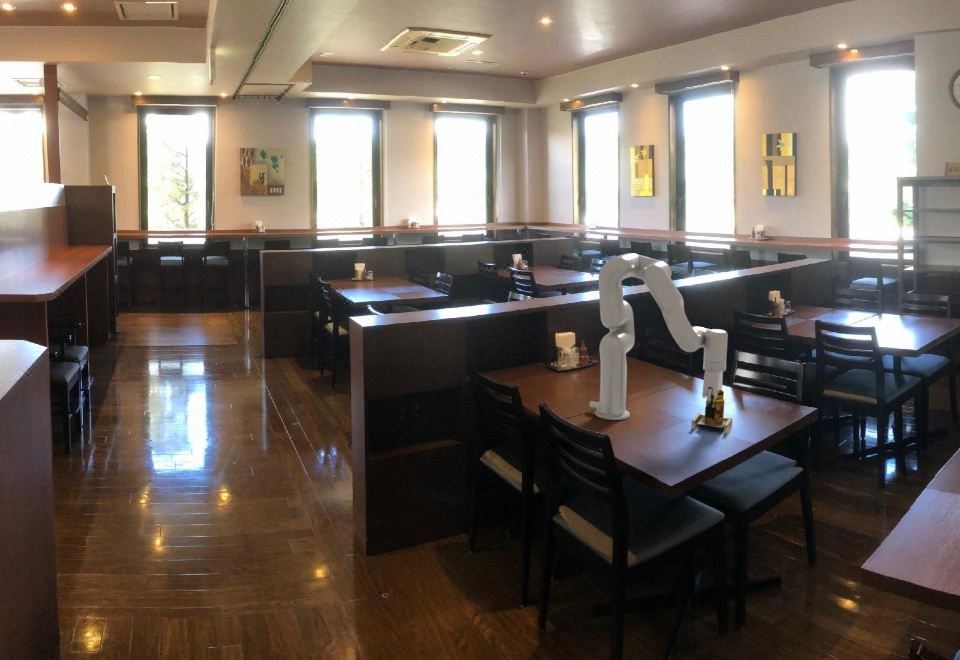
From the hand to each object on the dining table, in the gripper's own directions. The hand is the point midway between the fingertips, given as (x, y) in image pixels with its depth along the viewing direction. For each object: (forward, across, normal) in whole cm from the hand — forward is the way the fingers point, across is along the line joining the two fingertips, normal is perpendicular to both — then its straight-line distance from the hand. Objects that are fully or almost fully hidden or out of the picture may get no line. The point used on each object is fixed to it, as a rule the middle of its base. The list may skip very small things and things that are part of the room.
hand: (711, 414), depth 266 cm
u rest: (+5, 0, 0) cm, 5 cm away
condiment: (+3, 0, 0) cm, 3 cm away
